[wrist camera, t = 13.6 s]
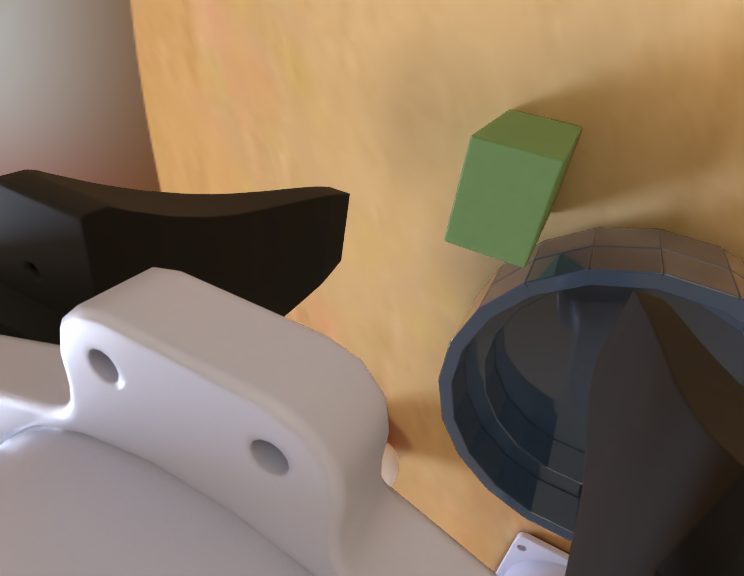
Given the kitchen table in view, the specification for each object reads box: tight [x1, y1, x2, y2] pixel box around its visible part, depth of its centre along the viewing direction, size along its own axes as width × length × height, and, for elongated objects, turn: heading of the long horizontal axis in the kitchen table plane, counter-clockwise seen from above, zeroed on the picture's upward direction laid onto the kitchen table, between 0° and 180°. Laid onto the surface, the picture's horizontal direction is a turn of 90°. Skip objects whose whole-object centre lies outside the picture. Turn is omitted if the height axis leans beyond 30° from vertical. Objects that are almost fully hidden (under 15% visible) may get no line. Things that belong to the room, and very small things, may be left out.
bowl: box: [438, 227, 744, 541], centre depth 20 cm, size 13×13×4 cm
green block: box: [445, 110, 582, 268], centre depth 17 cm, size 4×3×6 cm
